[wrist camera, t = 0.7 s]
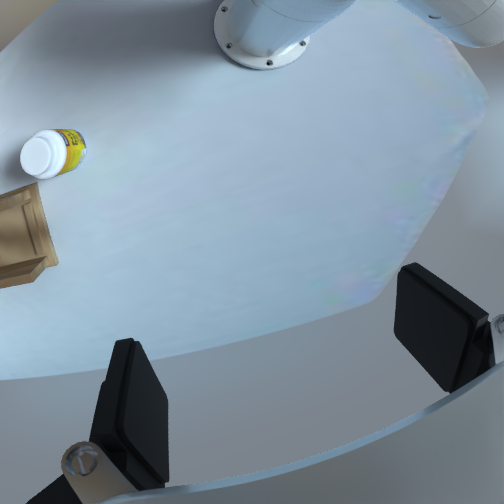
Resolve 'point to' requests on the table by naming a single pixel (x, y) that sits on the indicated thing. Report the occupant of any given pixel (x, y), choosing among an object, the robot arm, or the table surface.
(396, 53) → the table surface
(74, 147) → the supplement bottle
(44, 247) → the holder
